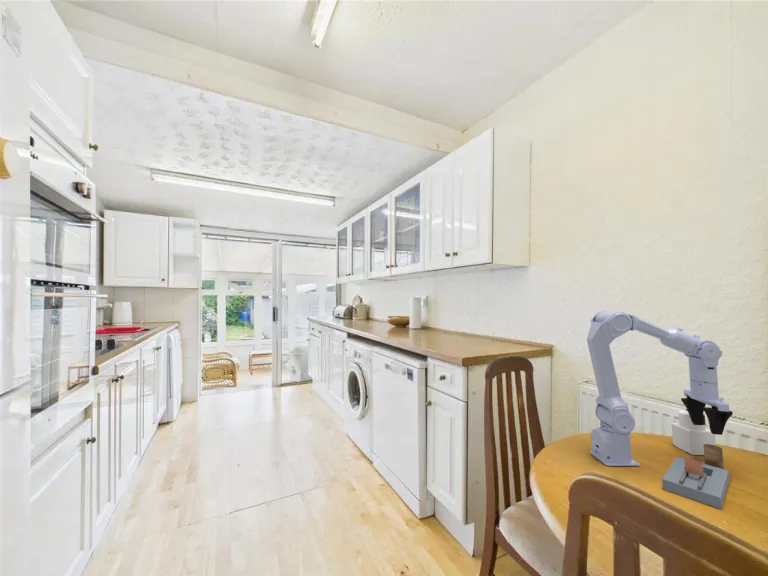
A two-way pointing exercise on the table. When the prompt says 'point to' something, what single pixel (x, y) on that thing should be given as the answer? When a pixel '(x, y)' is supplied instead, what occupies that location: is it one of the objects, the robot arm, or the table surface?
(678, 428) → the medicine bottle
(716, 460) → the brown wooden block
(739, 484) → the table surface
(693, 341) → the robot arm
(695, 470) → the bar
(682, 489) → the mount board
